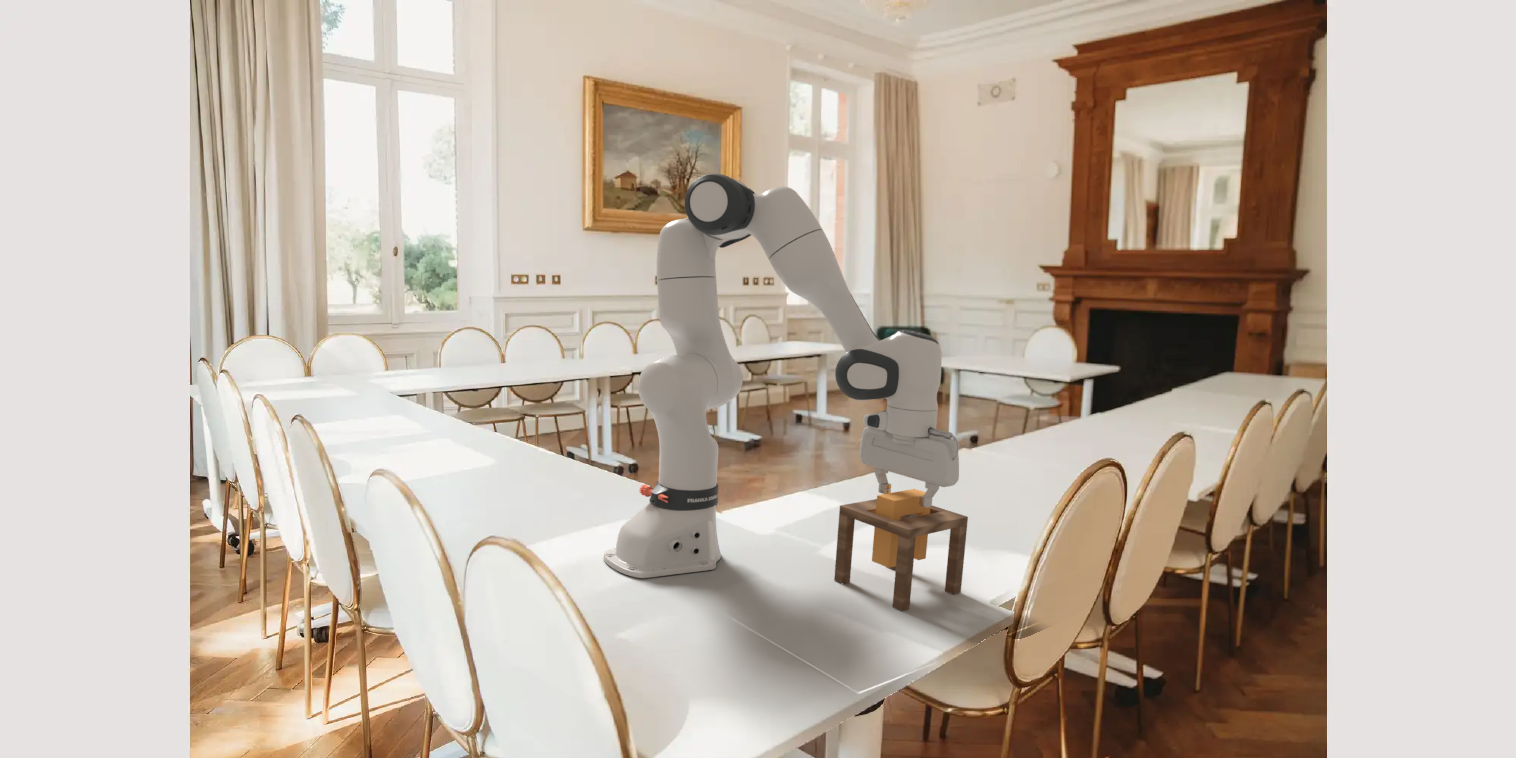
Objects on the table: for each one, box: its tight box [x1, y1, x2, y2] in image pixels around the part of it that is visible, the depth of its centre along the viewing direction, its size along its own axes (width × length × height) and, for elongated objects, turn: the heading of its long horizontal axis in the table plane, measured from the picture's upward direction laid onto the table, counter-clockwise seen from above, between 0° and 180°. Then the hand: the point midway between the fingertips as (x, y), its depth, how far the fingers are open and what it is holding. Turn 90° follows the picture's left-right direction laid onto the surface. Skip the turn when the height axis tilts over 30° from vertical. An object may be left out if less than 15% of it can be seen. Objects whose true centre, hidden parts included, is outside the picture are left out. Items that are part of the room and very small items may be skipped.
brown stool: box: [833, 498, 969, 612], centre depth 147 cm, size 16×16×14 cm
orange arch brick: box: [871, 488, 930, 569], centre depth 147 cm, size 10×4×12 cm, turn 129°
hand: (904, 499), depth 146 cm, fingers open, 8 cm apart
